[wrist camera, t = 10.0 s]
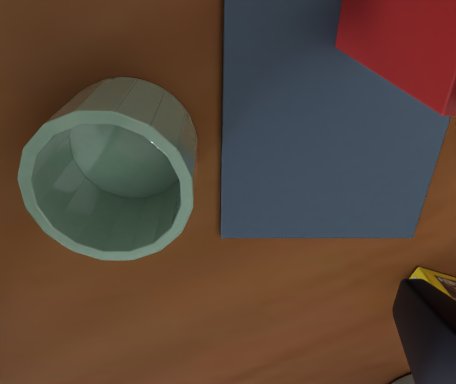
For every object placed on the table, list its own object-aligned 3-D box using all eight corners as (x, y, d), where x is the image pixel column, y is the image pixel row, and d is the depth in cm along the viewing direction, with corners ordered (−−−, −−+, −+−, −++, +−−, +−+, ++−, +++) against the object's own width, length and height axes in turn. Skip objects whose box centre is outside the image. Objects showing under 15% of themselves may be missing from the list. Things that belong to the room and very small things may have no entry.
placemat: (410, 234, 23) (413, 238, 22) (220, 234, 22) (220, 238, 22) (576, -309, 12) (587, -317, 12) (228, -326, 12) (229, -336, 12)
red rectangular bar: (361, 47, 17) (529, 137, 8) (334, 47, 17) (471, 136, 8) (372, -15, 16) (585, 7, 7) (343, -15, 16) (517, 5, 7)
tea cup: (199, 201, 21) (194, 260, 17) (75, 200, 21) (39, 260, 17) (196, 77, 18) (190, 112, 14) (50, 75, 18) (-3, 109, 13)
